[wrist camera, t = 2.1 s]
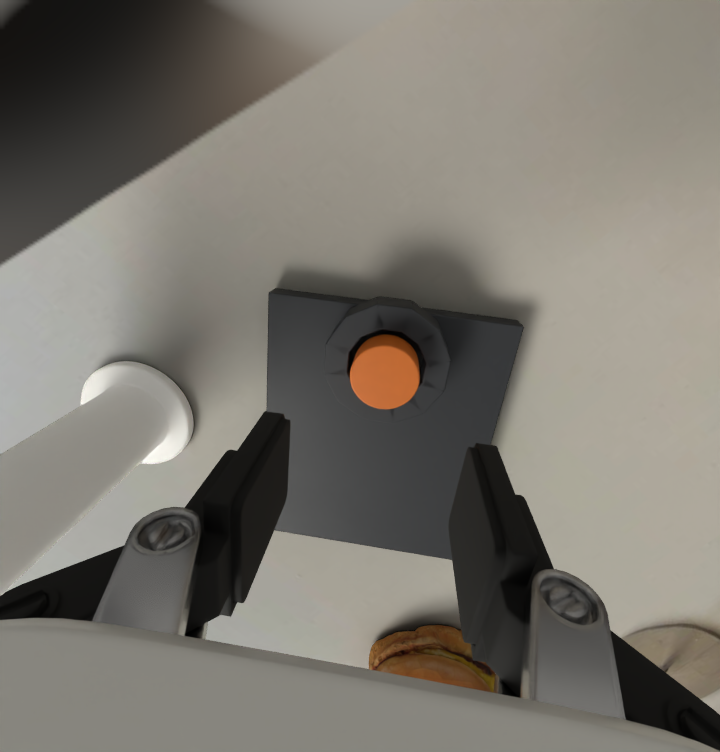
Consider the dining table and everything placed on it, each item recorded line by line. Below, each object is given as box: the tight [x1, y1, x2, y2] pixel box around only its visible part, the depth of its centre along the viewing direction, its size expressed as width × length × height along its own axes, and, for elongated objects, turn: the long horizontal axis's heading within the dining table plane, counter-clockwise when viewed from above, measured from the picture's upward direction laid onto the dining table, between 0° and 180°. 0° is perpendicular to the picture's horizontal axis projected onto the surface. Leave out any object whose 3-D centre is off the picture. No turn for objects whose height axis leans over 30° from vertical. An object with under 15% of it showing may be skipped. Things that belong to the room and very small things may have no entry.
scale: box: [267, 288, 524, 560], centre depth 23 cm, size 16×13×3 cm
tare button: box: [350, 334, 420, 409], centre depth 19 cm, size 3×3×2 cm
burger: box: [369, 625, 496, 693], centre depth 30 cm, size 10×9×5 cm
